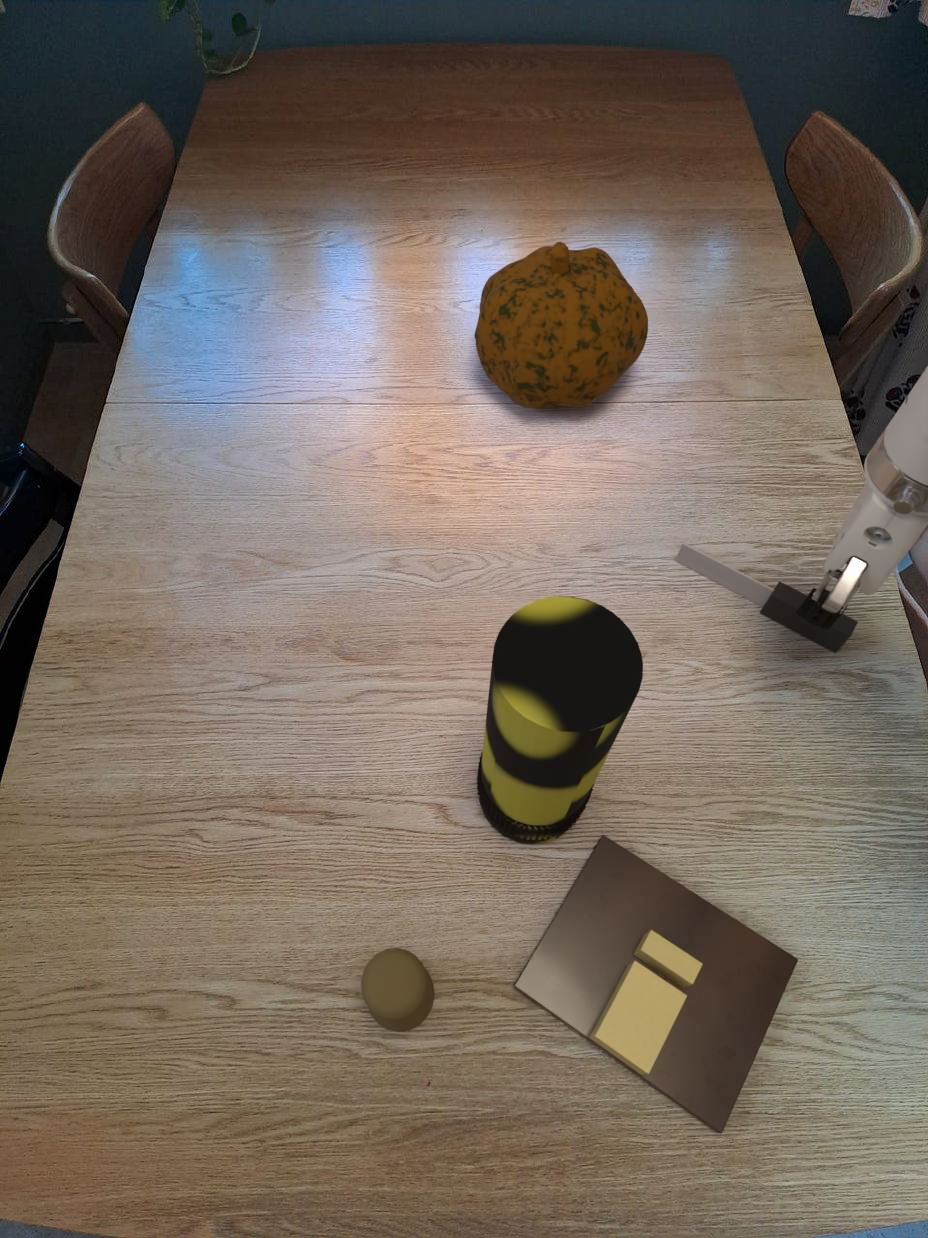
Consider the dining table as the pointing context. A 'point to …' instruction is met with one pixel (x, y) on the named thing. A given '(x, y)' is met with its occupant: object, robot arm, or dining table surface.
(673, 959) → the butter slice
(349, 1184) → the dining table surface
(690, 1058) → the cutting board
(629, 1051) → the butter stick
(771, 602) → the knife
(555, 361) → the decorative pumpkin
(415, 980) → the cork
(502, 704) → the container
